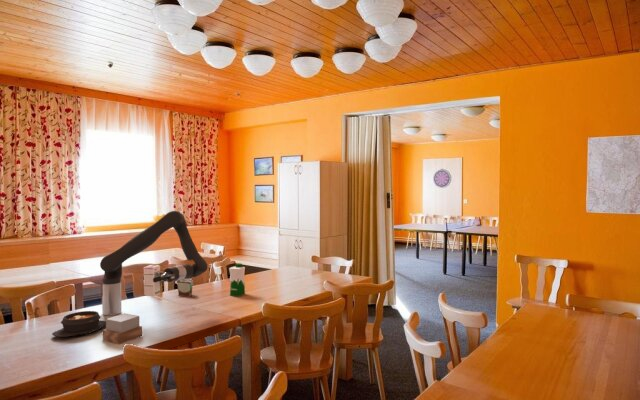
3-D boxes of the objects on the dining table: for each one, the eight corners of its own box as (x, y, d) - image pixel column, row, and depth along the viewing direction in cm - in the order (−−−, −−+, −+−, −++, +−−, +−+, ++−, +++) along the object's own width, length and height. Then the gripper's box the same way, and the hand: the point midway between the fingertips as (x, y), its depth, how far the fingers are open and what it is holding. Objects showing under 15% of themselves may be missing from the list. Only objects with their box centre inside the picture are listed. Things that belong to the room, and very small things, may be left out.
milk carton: (246, 293, 279) (246, 263, 279) (239, 296, 271) (238, 265, 270) (235, 292, 283) (235, 262, 282) (227, 295, 274) (227, 265, 274)
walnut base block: (102, 340, 194) (102, 329, 194) (126, 332, 204) (126, 322, 204) (118, 345, 188) (118, 334, 188) (142, 337, 198) (142, 326, 198)
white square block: (106, 329, 194) (106, 319, 194) (124, 323, 203) (124, 313, 203) (121, 332, 189) (120, 321, 189) (139, 326, 198) (139, 315, 198)
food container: (197, 294, 278) (197, 279, 277) (191, 296, 272) (191, 281, 272) (183, 293, 283) (183, 278, 282) (176, 295, 277) (176, 280, 277)
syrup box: (154, 296, 207) (154, 266, 206) (143, 295, 208) (143, 266, 207) (161, 293, 212) (160, 264, 212) (150, 292, 213) (150, 264, 213)
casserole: (66, 343, 190) (66, 325, 190) (43, 337, 199) (43, 319, 199) (116, 327, 212) (116, 310, 211) (94, 322, 221) (93, 306, 220)
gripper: (165, 265, 226) (138, 270, 211) (184, 267, 219) (158, 273, 204) (166, 279, 226) (139, 285, 212) (184, 282, 219) (158, 288, 204)
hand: (148, 279), depth 208 cm, fingers closed on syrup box, 7 cm apart
